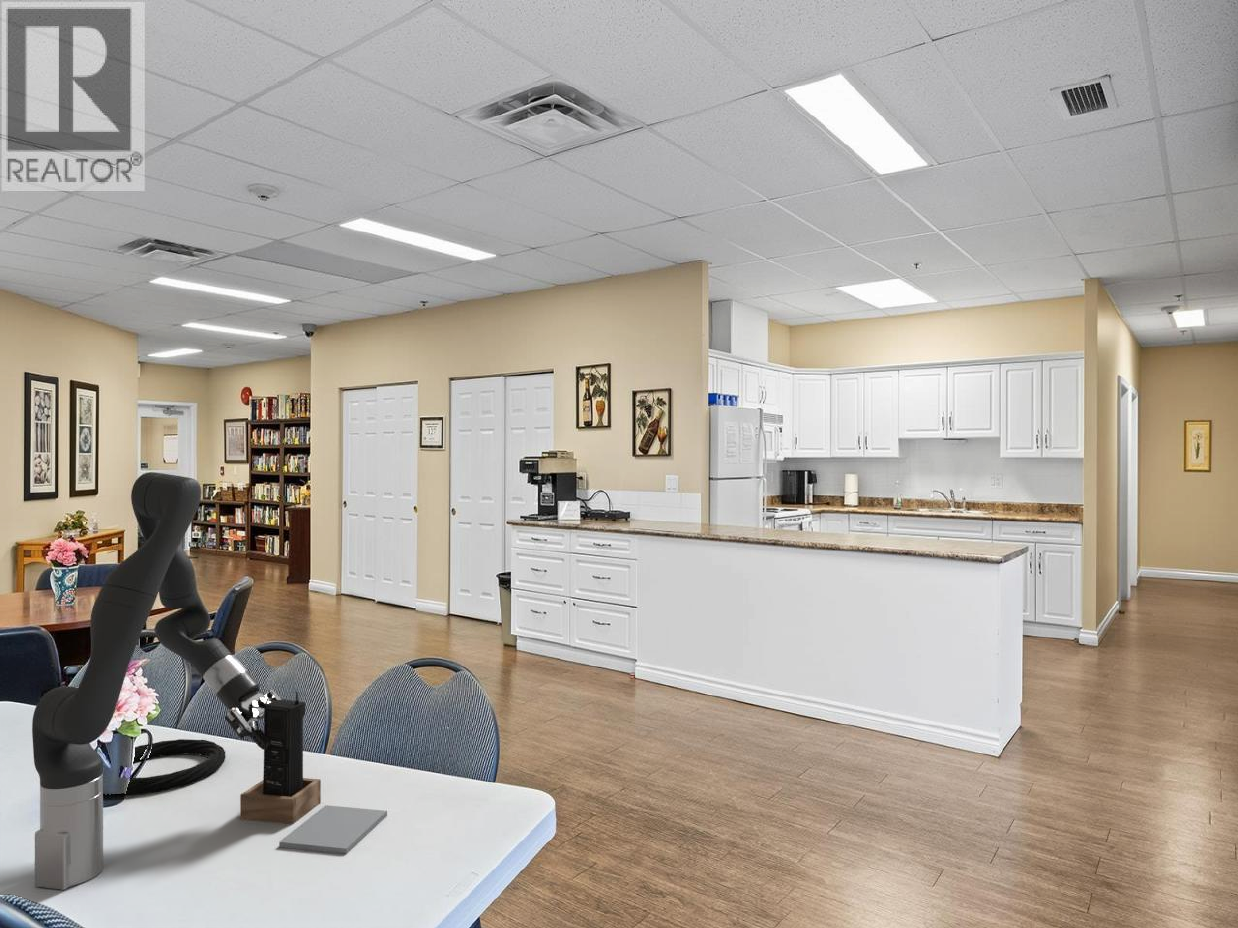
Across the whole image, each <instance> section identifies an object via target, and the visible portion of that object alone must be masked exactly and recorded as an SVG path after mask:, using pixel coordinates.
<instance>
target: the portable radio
mask: <svg viewBox="0 0 1238 928" xmlns="http://www.w3.org/2000/svg"><path fill="white" fill-rule="evenodd" d="M281 699H282V698H281ZM298 699H299V692H298V691H297V692H295V700H292V699H291V700H290V699H284V698H283V699H282V700H276V701H273V702H271V703H268V704H266V705H265V706H264V718H263V719H264V720H263V724H264V725H263V732H264V734H265V735H266V736H267V737H268V738H269V739H270V741H271V744H270V745H269V746H268V747H267V748H266V749H264V750H263V779H262V780H263V794H265V795H276V796H287V797H292V796H294V795H295V794H296V793H298V792H299V791H301V790H302V789H303V778H304V742H303V741H304V717H305V715H306V702H305V701H299V700H298Z"/></svg>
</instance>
